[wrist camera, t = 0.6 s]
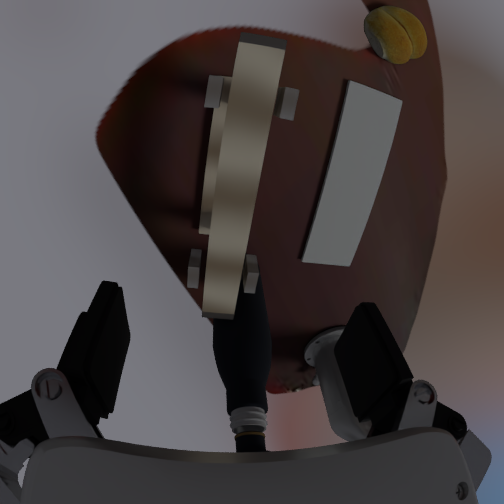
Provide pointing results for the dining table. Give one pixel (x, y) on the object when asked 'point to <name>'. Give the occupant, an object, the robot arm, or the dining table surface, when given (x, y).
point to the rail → (240, 168)
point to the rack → (219, 101)
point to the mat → (352, 174)
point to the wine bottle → (245, 366)
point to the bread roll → (395, 34)
